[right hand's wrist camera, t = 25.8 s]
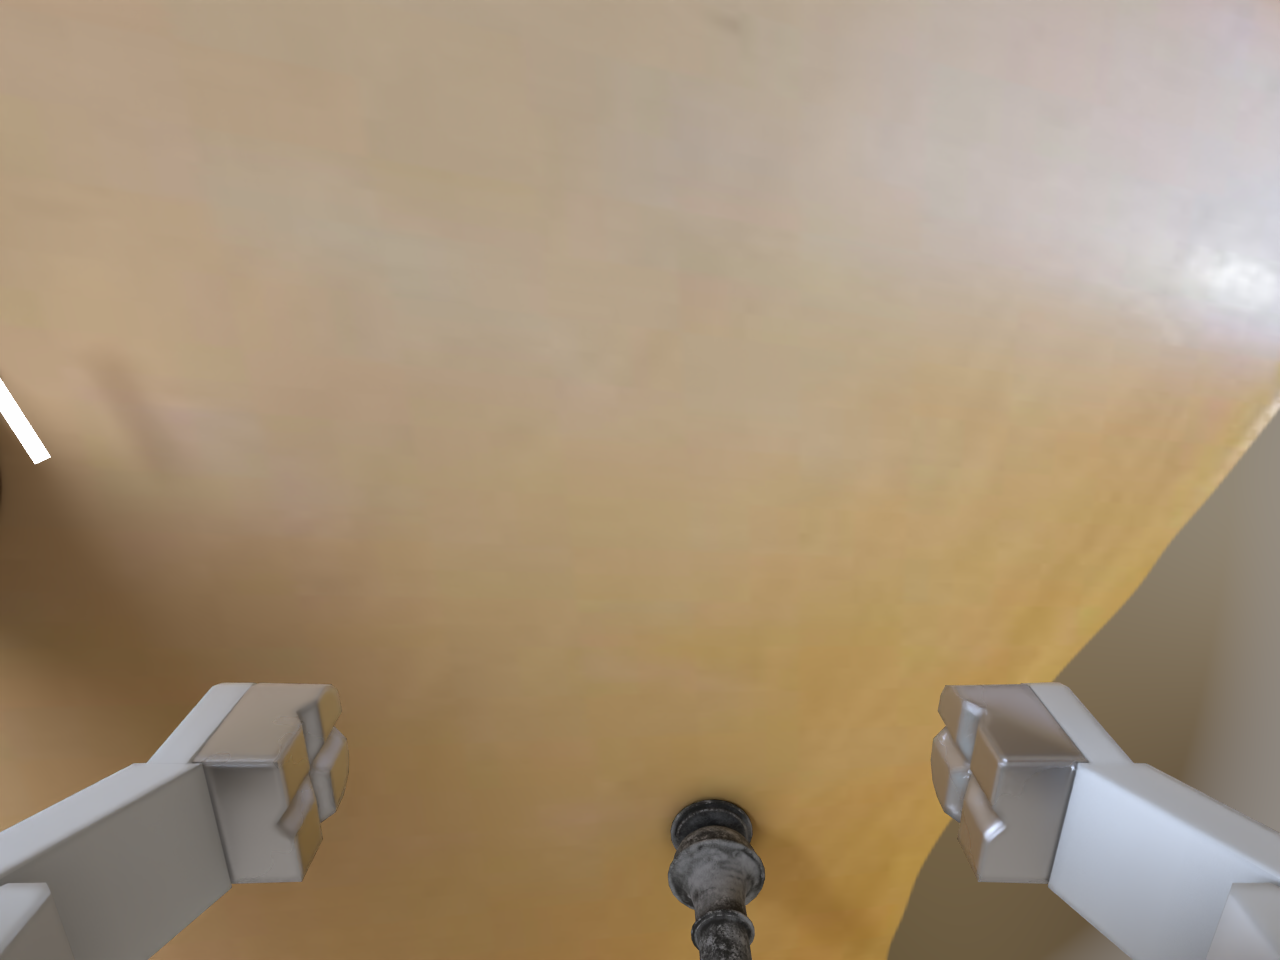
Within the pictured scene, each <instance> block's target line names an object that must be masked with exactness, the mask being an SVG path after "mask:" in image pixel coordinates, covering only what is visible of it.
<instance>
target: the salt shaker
mask: <svg viewBox="0 0 1280 960" xmlns="http://www.w3.org/2000/svg"><path fill="white" fill-rule="evenodd" d="M751 838H752V824H751V822H750V819H749V817H748V816H747V815H746V813H745V812H744V811H743V810H742V809H740V808H739V807H737V806H736V805H734V804H732V803H729V802H726V801H721V800H703V801H700V802H696V803H693V804H691V805H690V806H688V807H686V808H684V809H683V810H682V811H681V812H680V813H679V814H678V815H677V816H676V818H675V819H674V821H673V823H672V827H671V840H672V843H673V845H674V847H675V849H676V850H677V851H676V853H675V856H674V860H673V861H672V863H671V864H670V868H669V872H668V881H669V887H670V889H671V891H672V893H673V895H674V896H675V897H676V898H677V899H678V900H679V901H680V902H681V903H683V904H684V905H686V906H687V907H689V908H691V909H694V910H695V919H696V921H695V923H694V925H693V926H692V930H691V938H692V941H693V944H694V945H695V947H696V948H697V949H698V950H699V953H700V960H752V957H751V951H750V945H751V943H752V942H753V939H754V936H755V933H754V926H753V924H752V922H751V920H750V919H749V918H748V917H747V914H746V907H745V905H747V904H748V903H749V902H751V901H752V900H753V899H754V898H755V897H756V896H757V895H758V893H759V892H760V891H761V889H762V887H763V884H764V880H765V869H764V866H763V863H762V861H761V859H760V857H759V856H758V855H757V854H756V853H755V851H754V849H753V848H752V846H751V845H750V841H751Z"/></svg>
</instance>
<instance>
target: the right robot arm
mask: <svg viewBox="0 0 1280 960" xmlns="http://www.w3.org/2000/svg"><path fill="white" fill-rule="evenodd" d="M0 411H1V413H2V414H3V416H4V417H5V419H6V420H7V422H8V423H9V425H10V426H11V428H12V429H13V431H14V432H15V434H16V436H17V437H18V439H19V440H20V442H21V443H22V445H23V446H24V448H25V449H26V451H27V452H28V454H29V455H30V457H31V458H32V460H33V462H34V463H38V462H41V461H43V460H45V459H47V458H49V457H50V455H49V454H48V452H47V451H46V449H45V447H44V446H43V444H42V443H41V441H40V440H39V438H38V437H37V435H36V433H35V432H34V430H33V429H32V427H31V426H30V424H29V423H28V421H27V419H26V418H25V416H24V415H23V413H22V412H21V410H20V409H19V407H18V405H17V404H16V402H15V401H14V399H13V398H12V396H11V395H10V393H9V391H8V390H7V388H6V387H5V385H4V384H3V382H2V381H1V379H0ZM341 712H342V708H341V703H340V698H339V693H338V690H337V689H336V688H335V687H334V686H333V685H332V684H292V683H258V684H257V683H220V684H217V685H215V686H212V687H211V688H210V690H209V691H208V692H207V693H206V694H205V695H204V697H203V698H202V699H201V700H200V701H199V702H198V704H197V705H196V706H195V707H194V708H193V709H192V711H191V712H190V713H189V714H188V715H187V716H186V717H185V719H184V720H183V721H182V722H181V723H180V724H179V726H178V727H177V728H176V729H175V730H174V731H173V733H172V734H171V735H170V736H169V737H168V738H167V740H166V741H165V742H164V743H163V744H162V745H161V747H160V748H159V749H158V750H157V751H156V752H155V754H154V755H153V756H152V757H151V758H150V759H149V760H148V762H147V763H134V764H132V765H130V766H128V767H126V768H124V769H122V770H120V771H118V772H116V773H114V774H112V775H110V776H108V777H106V778H104V779H103V780H101V781H99V782H97V783H95V784H93V785H91V786H89V787H87V788H85V789H83V790H81V791H79V792H77V793H75V794H74V795H72V796H70V797H68V798H66V799H64V800H62V801H60V802H58V803H56V804H54V805H52V806H50V807H48V808H46V809H45V810H43V811H41V812H39V813H37V814H35V815H33V816H31V817H29V818H27V819H25V820H23V821H21V822H19V823H17V824H16V825H14V826H12V827H10V828H8V829H6V830H4V831H2V832H0V960H148V959H149V958H150V957H151V956H152V955H154V954H155V953H156V952H157V951H158V950H159V949H161V948H162V947H163V946H164V945H165V944H166V943H168V942H169V941H170V940H171V939H172V938H174V937H175V936H176V935H177V934H178V933H179V932H181V931H182V930H183V929H184V928H185V927H186V926H188V925H189V924H190V923H191V922H192V921H193V920H195V919H196V918H197V917H198V916H199V915H200V914H202V913H203V912H204V911H205V910H206V909H207V908H209V907H210V906H211V905H212V904H213V903H214V902H216V901H217V900H218V899H219V898H220V897H221V896H223V895H224V894H225V893H226V892H227V891H228V890H230V889H231V888H232V884H236V883H270V882H302V880H303V878H304V876H305V874H306V872H307V870H308V868H309V866H310V864H311V862H312V860H313V858H314V856H315V854H316V852H317V850H318V848H319V846H320V844H321V842H322V840H323V837H322V831H321V825H320V823H321V822H322V821H324V820H325V819H327V818H328V817H329V816H331V815H332V814H334V813H335V812H336V811H337V808H338V806H339V804H340V802H341V800H342V797H343V795H344V791H345V787H346V782H347V778H348V773H349V751H348V744H347V739H346V738H345V737H344V736H343V734H342V733H341V732H340V731H339V730H338V729H337V728H336V727H335V726H334V725H335V723H336V721H337V720H338V718H339V716H340V714H341ZM938 712H939V714H940V716H941V718H942V720H943V721H944V723H945V725H946V726H945V727H944V728H943V729H942V730H941V731H940V732H939V733H938V734H937V735H936V737H935V738H934V739H933V745H932V753H931V769H932V780H933V784H934V788H935V791H936V795H937V798H938V800H939V802H940V804H941V806H942V808H943V811H944V812H945V813H946V814H948V815H949V816H951V817H952V818H953V819H955V820H956V821H958V822H959V823H960V825H959V831H958V837H957V839H958V842H959V844H960V846H961V848H962V850H963V852H964V854H965V856H966V858H967V860H968V862H969V864H970V866H971V868H972V870H973V872H974V874H975V876H976V878H977V880H978V882H1009V883H1044V884H1048V887H1049V888H1050V889H1051V890H1052V891H1053V892H1054V893H1056V894H1057V895H1058V896H1059V897H1060V898H1061V899H1062V900H1064V901H1065V902H1066V903H1067V904H1068V905H1069V906H1071V907H1072V908H1073V909H1074V910H1075V911H1077V912H1078V913H1079V914H1080V915H1081V916H1082V917H1083V918H1085V919H1086V920H1087V921H1088V922H1089V923H1090V924H1092V925H1093V926H1094V927H1095V928H1096V929H1097V930H1099V931H1100V932H1101V933H1102V934H1103V935H1104V936H1106V937H1107V938H1108V939H1109V940H1110V941H1111V942H1113V943H1114V944H1115V945H1116V946H1117V947H1118V948H1120V949H1121V950H1122V951H1123V952H1124V953H1125V954H1127V955H1128V956H1129V957H1130V958H1131V959H1132V960H1280V832H1278V831H1276V830H1274V829H1272V828H1270V827H1268V826H1266V825H1264V824H1262V823H1260V822H1258V821H1256V820H1254V819H1253V818H1251V817H1249V816H1247V815H1245V814H1243V813H1241V812H1239V811H1237V810H1235V809H1233V808H1231V807H1229V806H1227V805H1226V804H1224V803H1222V802H1220V801H1218V800H1216V799H1214V798H1212V797H1210V796H1208V795H1206V794H1204V793H1202V792H1200V791H1199V790H1197V789H1195V788H1193V787H1191V786H1189V785H1187V784H1185V783H1183V782H1181V781H1179V780H1177V779H1175V778H1174V777H1172V776H1170V775H1168V774H1166V773H1164V772H1162V771H1160V770H1158V769H1156V768H1154V767H1152V766H1150V765H1148V764H1146V763H1133V762H1132V761H1131V759H1130V758H1129V757H1128V756H1127V755H1126V754H1125V752H1124V751H1123V750H1122V749H1121V748H1120V747H1119V745H1118V744H1117V743H1116V742H1115V741H1114V740H1113V738H1112V737H1111V736H1110V735H1109V734H1108V733H1107V731H1106V730H1105V729H1104V728H1103V727H1102V726H1101V725H1100V723H1099V722H1098V721H1097V720H1096V719H1095V718H1094V716H1093V715H1092V714H1091V713H1090V712H1089V711H1088V710H1087V708H1086V707H1085V706H1084V705H1083V704H1082V702H1081V701H1080V700H1079V699H1078V698H1077V697H1076V695H1075V694H1074V693H1073V692H1072V691H1071V690H1070V689H1069V687H1067V686H1065V685H1063V684H1061V683H1059V682H1049V683H1021V684H1008V685H945V687H944V689H943V691H942V693H941V696H940V701H939V707H938Z"/></svg>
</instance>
